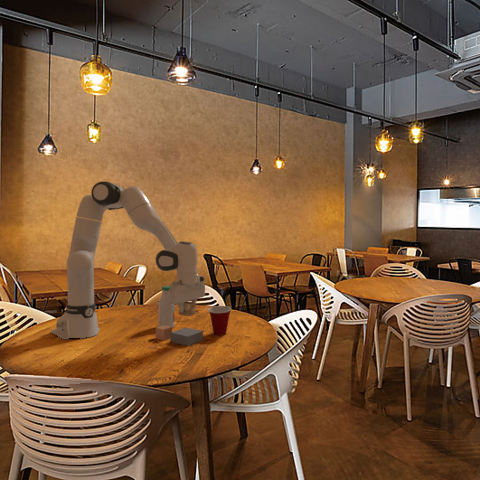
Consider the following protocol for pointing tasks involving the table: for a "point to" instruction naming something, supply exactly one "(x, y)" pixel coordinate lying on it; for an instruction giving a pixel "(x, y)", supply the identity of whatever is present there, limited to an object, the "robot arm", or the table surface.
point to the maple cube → (188, 308)
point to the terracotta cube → (163, 332)
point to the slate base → (186, 336)
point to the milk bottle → (166, 309)
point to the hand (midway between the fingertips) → (187, 310)
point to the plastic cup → (219, 319)
